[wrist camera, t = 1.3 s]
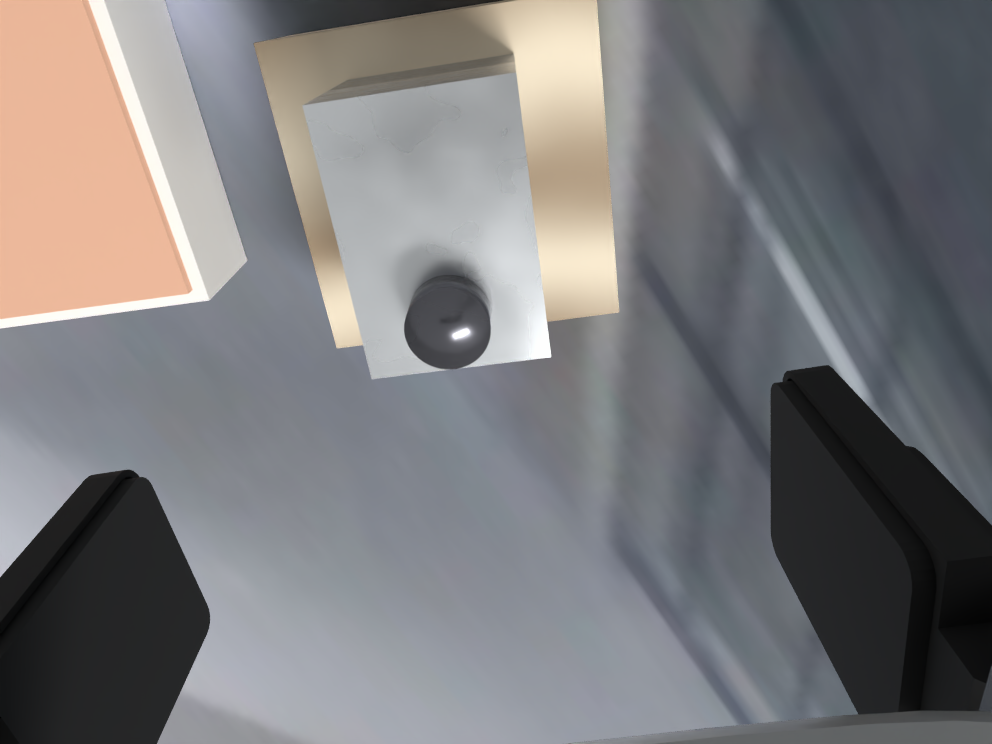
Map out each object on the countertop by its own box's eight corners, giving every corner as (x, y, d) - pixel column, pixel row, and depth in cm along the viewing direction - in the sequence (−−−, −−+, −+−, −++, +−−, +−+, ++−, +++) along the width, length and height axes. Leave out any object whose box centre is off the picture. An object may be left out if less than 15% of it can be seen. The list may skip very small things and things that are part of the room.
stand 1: (-154, 2, 27) (-281, 5, 23) (148, -51, 27) (76, -59, 22) (-8, 295, 33) (-87, 343, 29) (247, 260, 32) (205, 304, 28)
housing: (347, 79, 24) (289, 112, 17) (514, 53, 23) (516, 77, 17) (397, 303, 28) (365, 398, 21) (542, 284, 27) (553, 375, 21)
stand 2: (293, 34, 28) (253, 43, 23) (581, -13, 27) (595, -13, 23) (359, 300, 33) (337, 348, 28) (603, 267, 32) (618, 312, 28)
